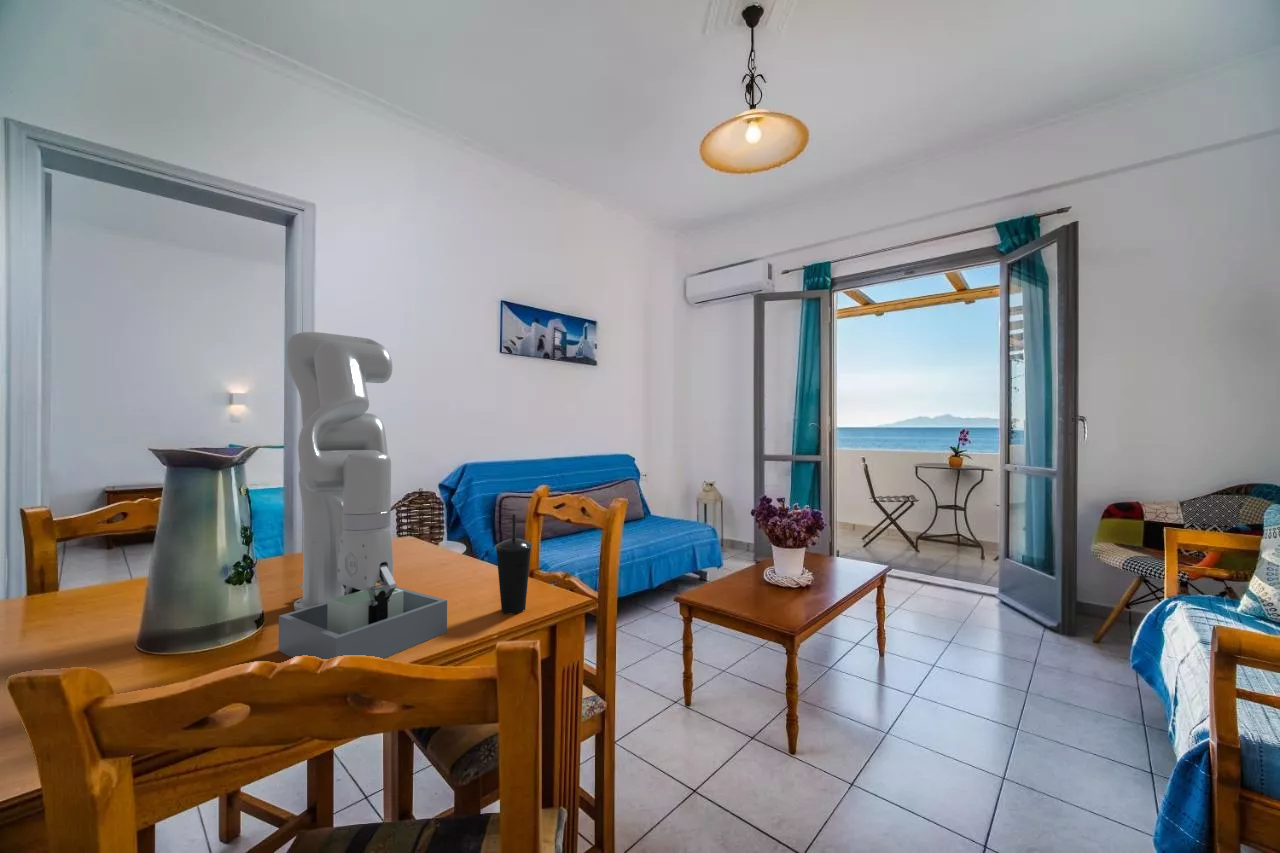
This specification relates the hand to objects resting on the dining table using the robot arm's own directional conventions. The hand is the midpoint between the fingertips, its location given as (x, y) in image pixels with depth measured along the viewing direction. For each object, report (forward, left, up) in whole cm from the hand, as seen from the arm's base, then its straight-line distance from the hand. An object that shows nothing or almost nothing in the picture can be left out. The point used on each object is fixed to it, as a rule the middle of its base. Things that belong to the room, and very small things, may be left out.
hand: (366, 621), depth 89 cm
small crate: (0, 0, -1) cm, 1 cm away
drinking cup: (+11, +25, -4) cm, 28 cm away
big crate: (0, 0, -4) cm, 4 cm away
